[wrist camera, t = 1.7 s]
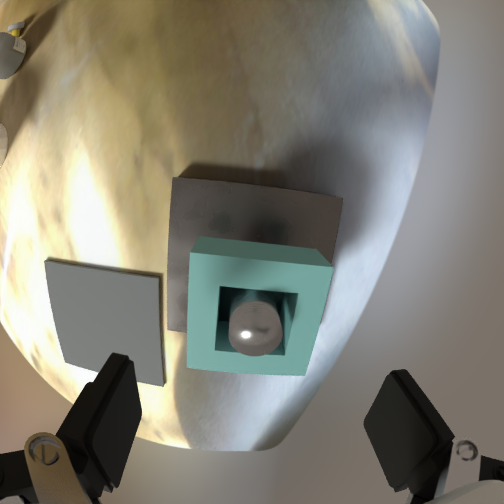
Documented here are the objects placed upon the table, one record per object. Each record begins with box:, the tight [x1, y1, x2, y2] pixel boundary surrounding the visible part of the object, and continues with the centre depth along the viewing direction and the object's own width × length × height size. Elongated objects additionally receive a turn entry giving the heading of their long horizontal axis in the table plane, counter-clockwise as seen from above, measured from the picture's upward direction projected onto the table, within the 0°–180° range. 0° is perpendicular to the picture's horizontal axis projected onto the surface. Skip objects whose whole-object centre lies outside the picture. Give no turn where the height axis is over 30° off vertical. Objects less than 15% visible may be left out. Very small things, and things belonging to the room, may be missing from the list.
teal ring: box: [187, 236, 334, 376], centre depth 14 cm, size 6×6×3 cm
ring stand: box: [167, 177, 343, 357], centre depth 17 cm, size 12×12×10 cm
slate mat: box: [44, 260, 164, 387], centre depth 23 cm, size 12×12×1 cm
